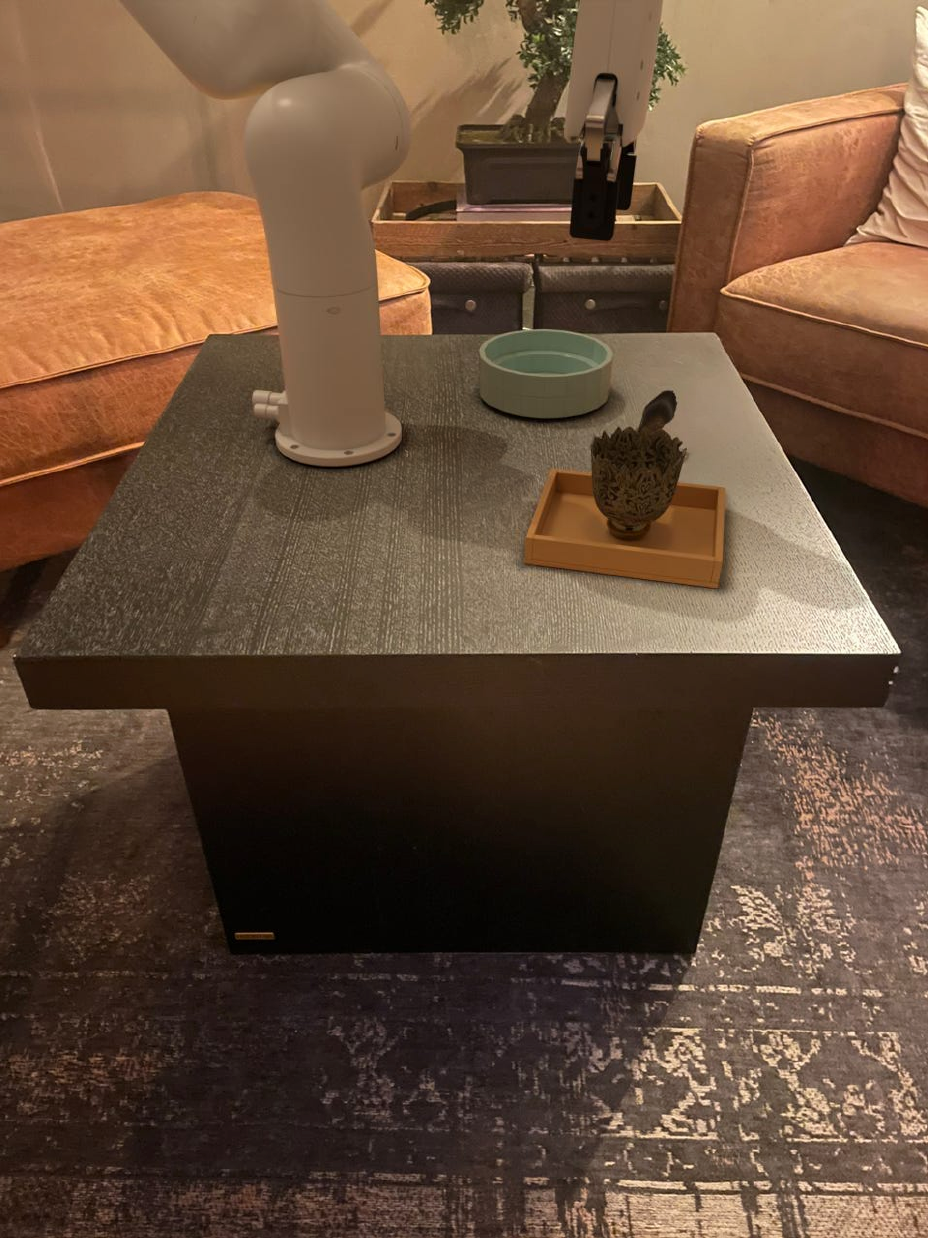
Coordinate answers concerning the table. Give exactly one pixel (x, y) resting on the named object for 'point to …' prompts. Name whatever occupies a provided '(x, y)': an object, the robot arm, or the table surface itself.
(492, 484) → the table surface
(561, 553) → the tray
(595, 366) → the bowl
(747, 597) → the table surface
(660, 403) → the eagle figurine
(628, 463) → the cup
